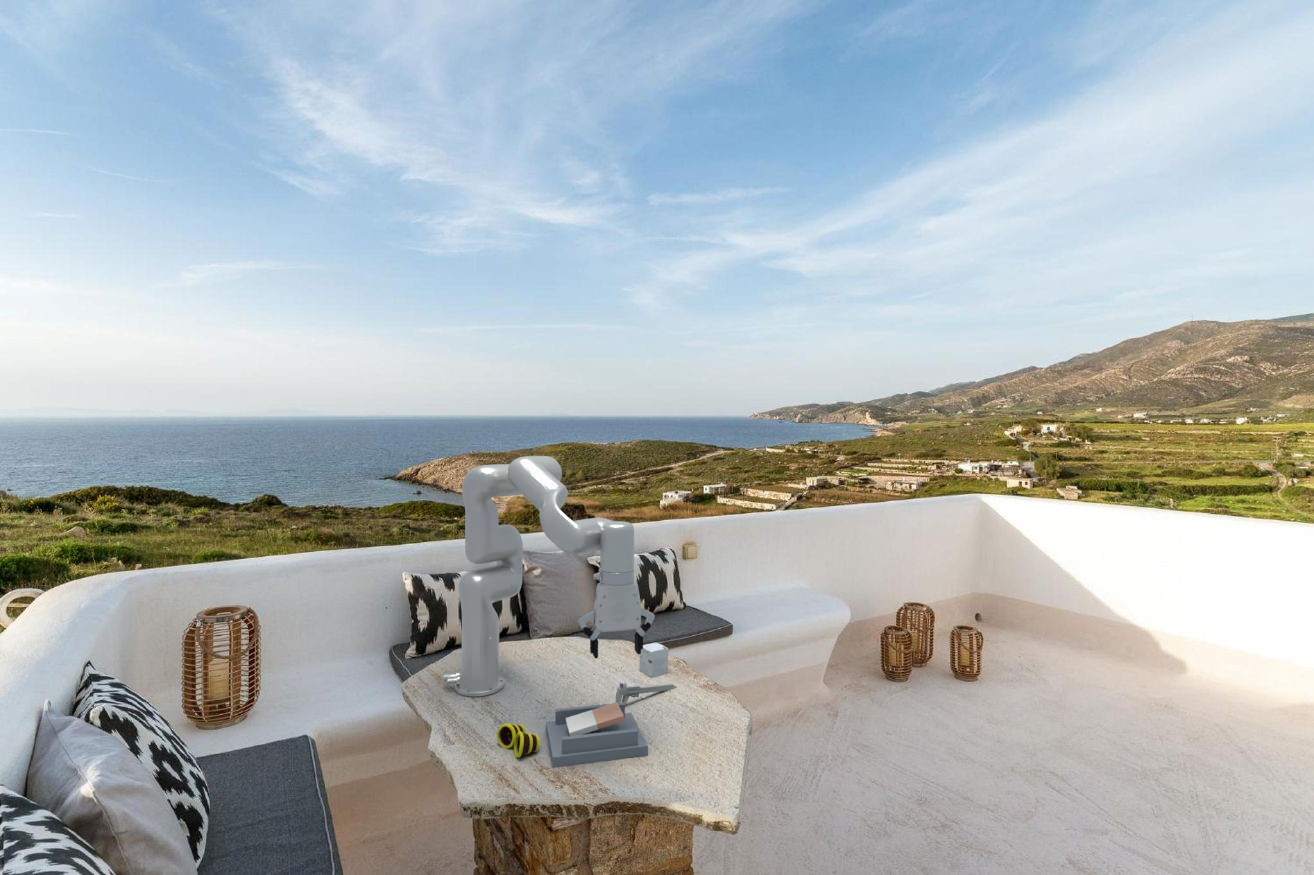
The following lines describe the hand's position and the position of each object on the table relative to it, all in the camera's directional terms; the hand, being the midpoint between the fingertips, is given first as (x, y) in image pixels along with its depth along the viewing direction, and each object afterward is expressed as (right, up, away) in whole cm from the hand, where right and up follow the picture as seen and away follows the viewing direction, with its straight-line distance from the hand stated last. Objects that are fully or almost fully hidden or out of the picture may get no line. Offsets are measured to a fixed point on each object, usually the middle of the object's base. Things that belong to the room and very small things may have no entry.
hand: (616, 654), depth 136 cm
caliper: (+7, -20, +22) cm, 30 cm away
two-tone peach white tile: (-5, -15, -1) cm, 15 cm away
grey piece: (-5, -19, -1) cm, 20 cm away
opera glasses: (-21, -19, -4) cm, 29 cm away
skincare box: (+8, -19, +39) cm, 45 cm away
